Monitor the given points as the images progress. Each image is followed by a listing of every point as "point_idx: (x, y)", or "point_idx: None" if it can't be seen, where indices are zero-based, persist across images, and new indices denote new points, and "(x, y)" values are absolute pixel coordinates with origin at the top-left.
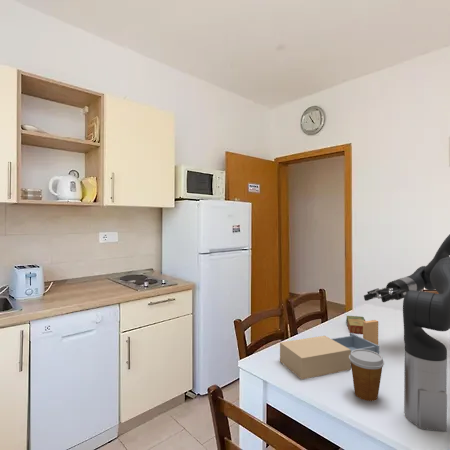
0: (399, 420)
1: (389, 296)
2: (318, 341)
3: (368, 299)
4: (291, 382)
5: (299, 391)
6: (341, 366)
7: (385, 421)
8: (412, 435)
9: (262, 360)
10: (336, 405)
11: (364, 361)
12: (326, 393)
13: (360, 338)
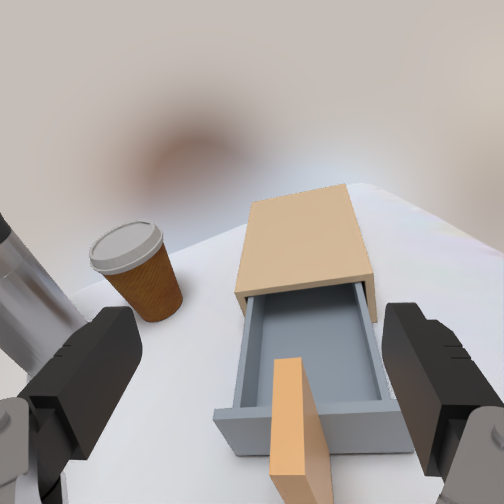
0: (94, 311)
1: (34, 383)
2: (324, 243)
3: (394, 382)
4: None
5: (234, 230)
6: None
7: (110, 294)
8: None
9: (361, 203)
10: (177, 257)
11: (115, 229)
12: (207, 256)
13: (324, 404)
